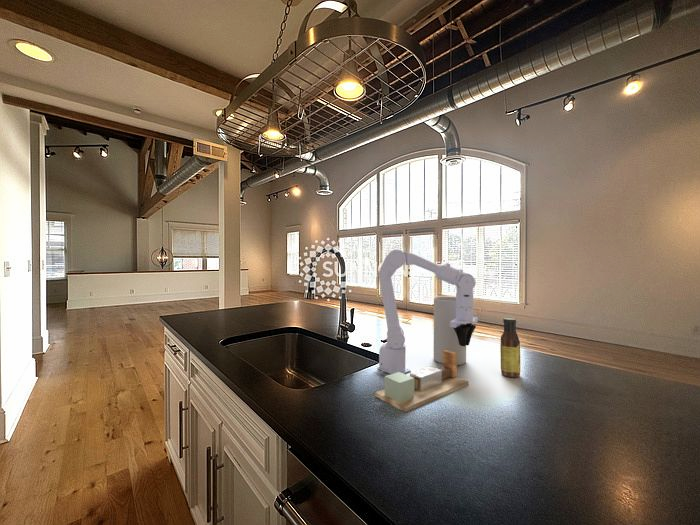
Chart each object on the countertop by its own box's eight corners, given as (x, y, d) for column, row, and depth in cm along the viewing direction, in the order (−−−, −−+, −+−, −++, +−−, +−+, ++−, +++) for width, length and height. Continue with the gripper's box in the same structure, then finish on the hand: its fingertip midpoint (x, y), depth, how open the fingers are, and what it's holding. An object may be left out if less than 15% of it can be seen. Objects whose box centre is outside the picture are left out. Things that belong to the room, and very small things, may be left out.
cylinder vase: (427, 357, 128) (428, 297, 128) (453, 354, 131) (453, 296, 131) (445, 367, 116) (446, 301, 116) (473, 364, 120) (473, 300, 119)
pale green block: (384, 394, 89) (384, 376, 89) (398, 389, 93) (399, 371, 93) (399, 402, 84) (399, 382, 84) (414, 396, 88) (414, 377, 88)
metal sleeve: (409, 387, 94) (409, 373, 94) (430, 379, 101) (430, 366, 101) (421, 392, 91) (421, 377, 91) (441, 384, 97) (441, 370, 97)
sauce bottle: (524, 378, 105) (524, 320, 105) (505, 378, 105) (506, 320, 105) (514, 371, 112) (514, 317, 112) (496, 371, 112) (497, 317, 112)
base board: (374, 396, 91) (375, 392, 91) (437, 373, 109) (437, 370, 109) (405, 412, 81) (405, 407, 81) (468, 384, 100) (468, 381, 100)
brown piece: (408, 387, 94) (408, 360, 94) (446, 373, 106) (446, 349, 106) (418, 391, 91) (418, 364, 90) (456, 376, 102) (456, 352, 102)
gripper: (463, 310, 101) (462, 351, 101) (486, 306, 110) (485, 344, 110) (444, 307, 106) (444, 346, 107) (467, 304, 115) (467, 340, 115)
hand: (464, 345), depth 109 cm, fingers closed
